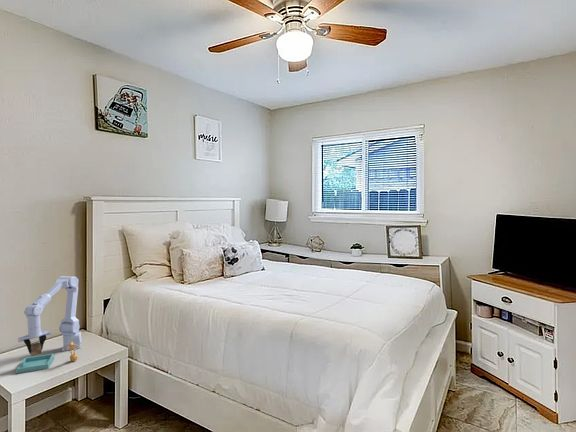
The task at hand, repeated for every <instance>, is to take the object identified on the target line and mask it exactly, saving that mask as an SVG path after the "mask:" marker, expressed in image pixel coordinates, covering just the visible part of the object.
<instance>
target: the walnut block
mask: <svg viewBox="0 0 576 432" xmlns="http://www.w3.org/2000/svg"><path fill="white" fill-rule="evenodd" d="M29 355H30V357H33V356H39V355H42V350H41V344H40V341H39V342H34V343H32V344H31V353H29Z"/></svg>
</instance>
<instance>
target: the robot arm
mask: <svg viewBox="0 0 576 432" xmlns="http://www.w3.org/2000/svg"><path fill="white" fill-rule="evenodd" d="M62 289H64V290H66V291H67V296H66V305H65V315H64V317H63V319H61V321H60V324H59V332H61V335H62V344H63V346H62V349H61V351H62V352H63V351H65V352H66V351H70V350H69V348H70V347H69V346H67V347H66V348H65V346H66V345H68V344H70V343H71V341H72V342H73V344H75V345H78V346H79V347H80V348H81V346H82V344H83V342H82V332H81V331H80V328H81V326H80V319H78V318H77V317H76V314H77V304H78V297H79V296H78V295H79V294H78V293H79V278H78V277H77V276H72V275H71V276H69V275H67V276H66V275H60V276H59V277H58V278H57V279H56V280H55V283H54V284H53V285H52V286H51V287H50V288H49V289H48V290H47V291H46V293H43V294H42V293H41V294H40V295H39V297H38V298H36V299H35V300H34V301H33V302H32V303H31V304H29V305H27V306H26V307H25V308H24V312H23V314H24V315H25V318H26V319H27V320H26V321H27V334H26V335H23V336H21V337H17V342H18V343H22V342H24V344H25V345H26V348H27V351H28V353H29V354H30V353H31V343H32V342H31V340H32V339H36V338H37V339H39V343H40V344H41V351H43V348H44V344H45V341H46V340H47V336H51V335H52V334H51V333H52V330H44V331H42V325H41V323H42V322H41V315H42V313H43V310H44V308H45V307H46V306H47V305H48V304H49V303H50V302H51V300H52V297H53V296H55V295H56V294H57V293H58V292H59V291H60V290H62ZM79 347H77V346H73V348H75V350H78V349H80V348H79ZM64 348H65V350H64Z"/></svg>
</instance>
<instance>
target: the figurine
mask: <svg viewBox="0 0 576 432" xmlns="http://www.w3.org/2000/svg"><path fill="white" fill-rule="evenodd" d="M67 346H69V347H70V348H69V350H68V351H70V354H71V355H70V356H69V360H70V362H76V361H77V360H78V358H79V357H78V356H79V355H78V354H77V353H75V352H76V349H75V348H73V346H77V347H79V346H78V345H75V344H73V342H72V341H71V343H70V344H68V345H66V346H65V348H66V347H67ZM65 348H64V350H65ZM79 349H81V346H80V347H79ZM65 351H66V350H65Z"/></svg>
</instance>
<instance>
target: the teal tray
mask: <svg viewBox="0 0 576 432" xmlns="http://www.w3.org/2000/svg"><path fill="white" fill-rule="evenodd" d="M54 359H55V353H48V354H39V355H34V356H29V357H24V358H23V360H22V361H21V362H20V363H19V365H18V366H17V368H15V369H16V374H17V375H18V374H22V373H23V374H24V373H30V372H36V371H43V370H48V369H49V368H50V366H51V364H52V363H53V361H54Z"/></svg>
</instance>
